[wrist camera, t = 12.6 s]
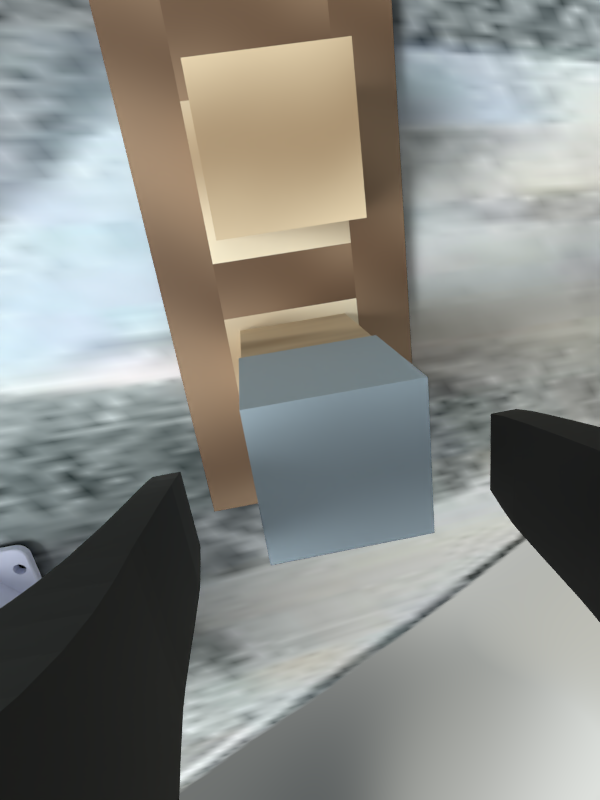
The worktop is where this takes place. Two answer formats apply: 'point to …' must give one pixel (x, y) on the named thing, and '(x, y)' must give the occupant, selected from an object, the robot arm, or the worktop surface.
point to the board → (263, 253)
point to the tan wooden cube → (278, 136)
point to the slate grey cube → (337, 446)
